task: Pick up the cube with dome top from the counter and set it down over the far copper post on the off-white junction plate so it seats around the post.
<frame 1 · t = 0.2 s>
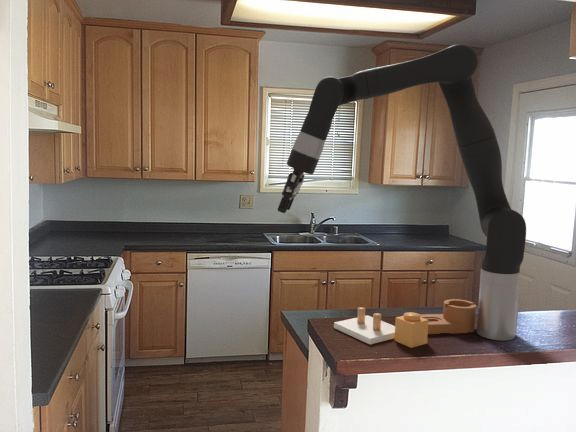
hand: (283, 210, 136), 31 cm above the countertop, tool tilted 20°, fingers open, 8 cm apart
junction plate: (368, 331, 135), on the countertop
cube with dome top: (410, 342, 128), on the countertop
bracket: (441, 329, 139), on the countertop
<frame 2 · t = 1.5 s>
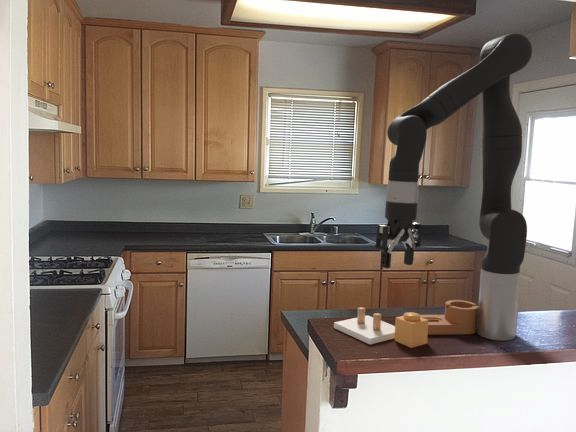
hand: (397, 266, 126), 19 cm above the countertop, tool pointing down, fingers open, 8 cm apart
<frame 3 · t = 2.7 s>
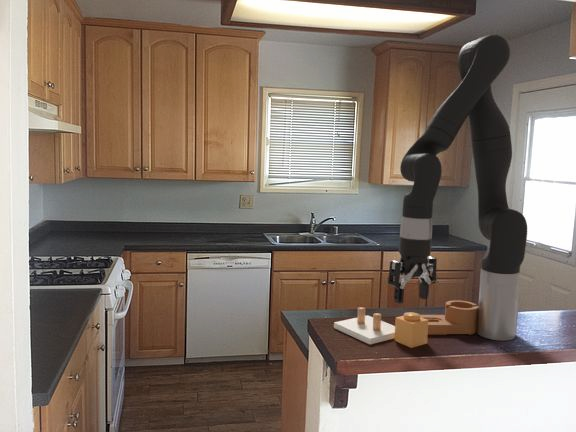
hand: (411, 300, 127), 11 cm above the countertop, tool pointing down, fingers open, 8 cm apart
nothing on the countertop moved.
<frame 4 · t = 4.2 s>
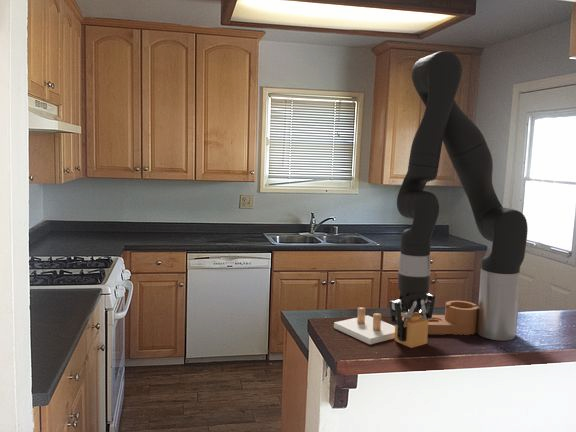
hand: (410, 337, 128), 1 cm above the countertop, tool pointing down, fingers closed on cube with dome top, 5 cm apart
cube with dome top: (410, 342, 128), on the countertop, touching gripper
everything else where it was.
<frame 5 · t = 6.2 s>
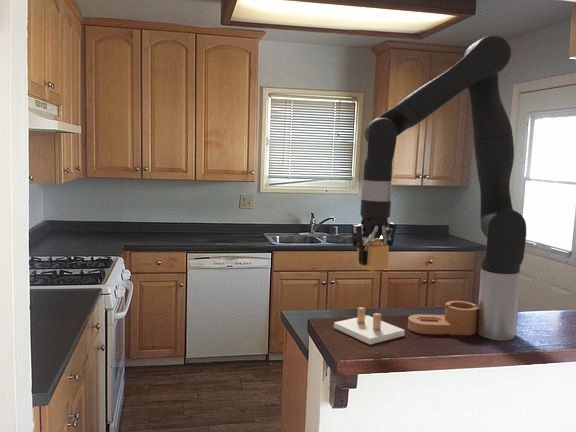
hand: (372, 263, 133), 18 cm above the countertop, tool pointing down, fingers closed on cube with dome top, 5 cm apart
cube with dome top: (371, 267, 133), point 17 cm above the countertop, touching gripper
bracket: (441, 330, 138), on the countertop, touching arm
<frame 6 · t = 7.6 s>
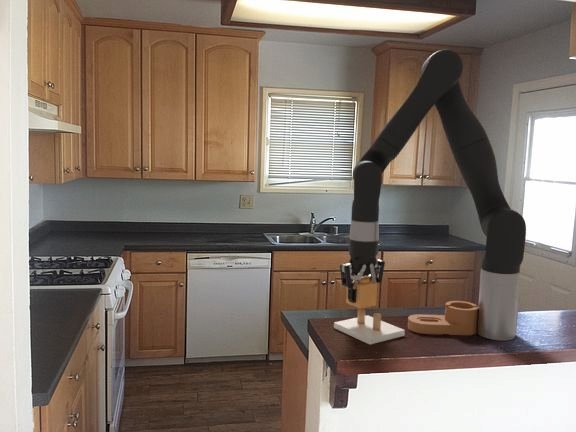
hand: (361, 300, 137), 8 cm above the countertop, tool pointing down, fingers closed on cube with dome top, 5 cm apart
cube with dome top: (361, 304, 137), point 7 cm above the countertop, touching gripper
bracket: (441, 330, 138), on the countertop
when the fingers open (3 cm above the countertop, at t = 9.0 s): cube with dome top stays where it is, resting on junction plate.
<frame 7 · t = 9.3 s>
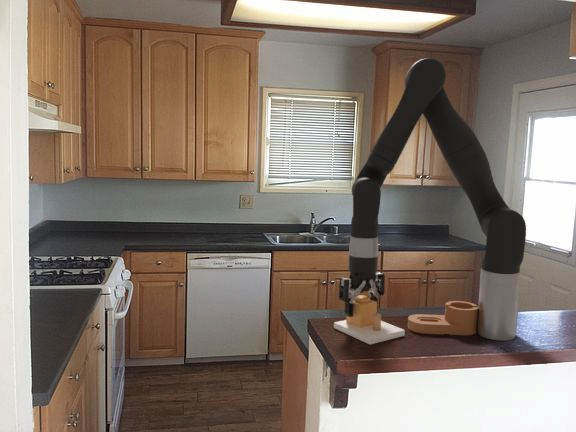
hand: (361, 313, 137), 4 cm above the countertop, tool pointing down, fingers open, 8 cm apart
cube with dome top: (361, 322, 137), point 1 cm above the countertop, touching junction plate
bracket: (441, 330, 138), on the countertop, touching arm
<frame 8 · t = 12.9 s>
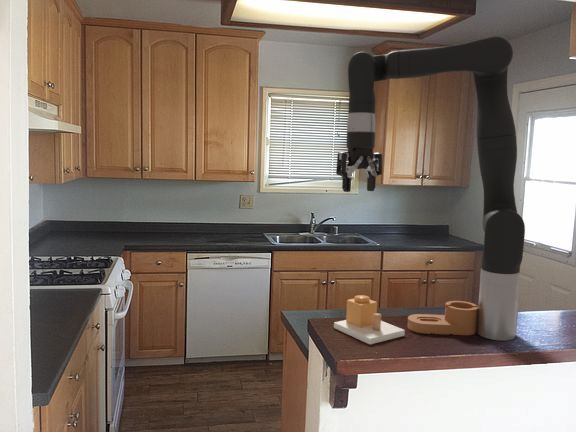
hand: (358, 191, 140), 36 cm above the countertop, tool pointing down, fingers open, 8 cm apart
bracket: (441, 330, 139), on the countertop
everything else where it was.
at the end: cube with dome top 0.0 cm from the target spot, point 1.5 cm above the countertop; cube with dome top tilted 0°; the gripper is holding nothing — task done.
